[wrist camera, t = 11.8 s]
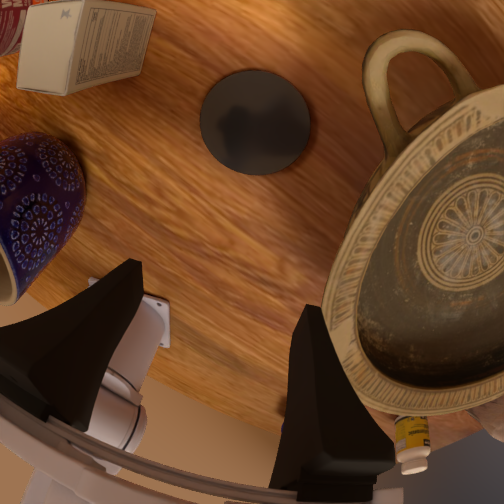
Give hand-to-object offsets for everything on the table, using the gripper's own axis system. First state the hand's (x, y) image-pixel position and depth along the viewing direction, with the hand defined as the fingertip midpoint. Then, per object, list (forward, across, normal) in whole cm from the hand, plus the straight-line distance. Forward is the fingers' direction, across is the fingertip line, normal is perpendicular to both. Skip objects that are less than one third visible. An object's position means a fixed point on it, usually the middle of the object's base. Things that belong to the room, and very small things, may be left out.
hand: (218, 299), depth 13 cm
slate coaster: (+10, +1, -5) cm, 12 cm away
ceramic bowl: (+11, -16, -3) cm, 19 cm away
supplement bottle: (+11, -31, +29) cm, 44 cm away
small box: (+11, +11, -10) cm, 18 cm away
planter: (+11, +18, +2) cm, 21 cm away
